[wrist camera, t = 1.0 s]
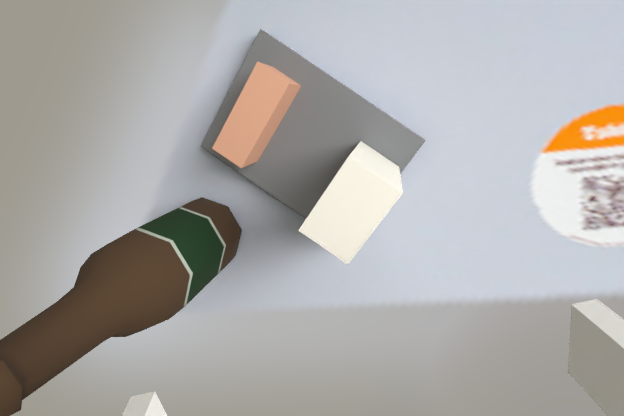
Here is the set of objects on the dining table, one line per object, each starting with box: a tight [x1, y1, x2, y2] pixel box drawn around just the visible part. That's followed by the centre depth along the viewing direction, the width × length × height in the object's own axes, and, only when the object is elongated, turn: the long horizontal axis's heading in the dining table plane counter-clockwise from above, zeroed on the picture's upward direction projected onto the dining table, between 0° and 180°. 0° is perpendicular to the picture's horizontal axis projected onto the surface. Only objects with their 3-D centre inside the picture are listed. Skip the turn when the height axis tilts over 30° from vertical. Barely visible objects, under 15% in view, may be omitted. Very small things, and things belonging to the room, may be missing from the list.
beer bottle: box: [0, 198, 242, 416], centre depth 28 cm, size 8×8×24 cm
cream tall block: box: [298, 141, 403, 264], centre depth 28 cm, size 6×4×10 cm, turn 148°
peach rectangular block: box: [212, 62, 301, 168], centre depth 31 cm, size 8×3×4 cm, turn 148°
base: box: [201, 29, 425, 218], centre depth 34 cm, size 12×17×2 cm
